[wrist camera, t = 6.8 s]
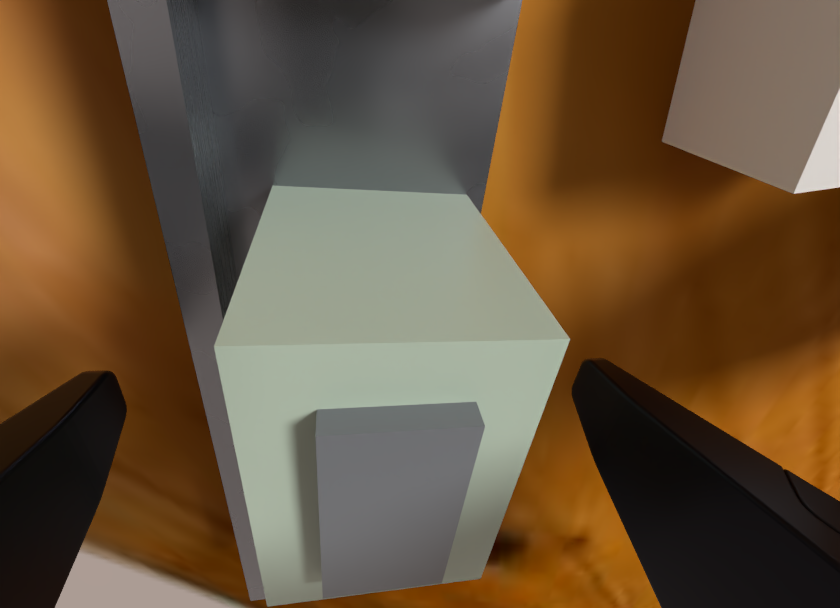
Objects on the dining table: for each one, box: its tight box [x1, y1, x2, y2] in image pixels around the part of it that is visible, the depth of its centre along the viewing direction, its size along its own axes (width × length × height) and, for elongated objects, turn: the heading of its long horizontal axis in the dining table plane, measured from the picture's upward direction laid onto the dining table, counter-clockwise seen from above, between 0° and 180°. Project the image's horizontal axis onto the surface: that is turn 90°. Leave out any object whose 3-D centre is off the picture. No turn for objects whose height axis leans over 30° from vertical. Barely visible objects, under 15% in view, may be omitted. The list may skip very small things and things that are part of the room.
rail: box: [107, 0, 522, 601], centre depth 10 cm, size 6×22×3 cm, turn 174°
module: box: [214, 186, 570, 607], centre depth 8 cm, size 4×6×5 cm, turn 174°
